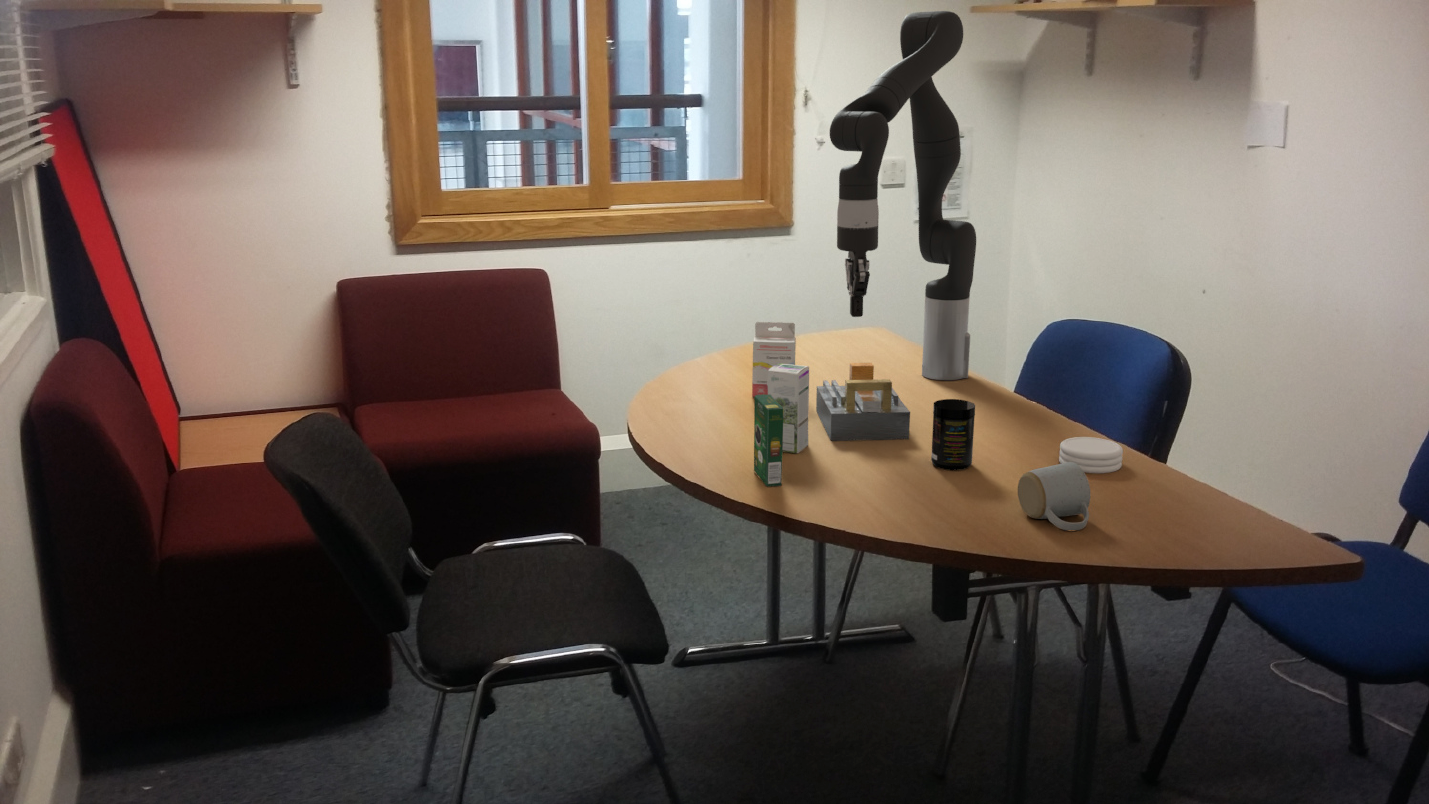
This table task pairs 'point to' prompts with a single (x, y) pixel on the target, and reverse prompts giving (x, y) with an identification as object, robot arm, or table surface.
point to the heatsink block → (848, 418)
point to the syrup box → (791, 403)
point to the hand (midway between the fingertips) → (856, 315)
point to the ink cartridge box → (771, 352)
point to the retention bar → (864, 398)
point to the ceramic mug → (1056, 494)
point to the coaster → (1092, 454)
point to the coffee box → (768, 439)
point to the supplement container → (952, 434)
